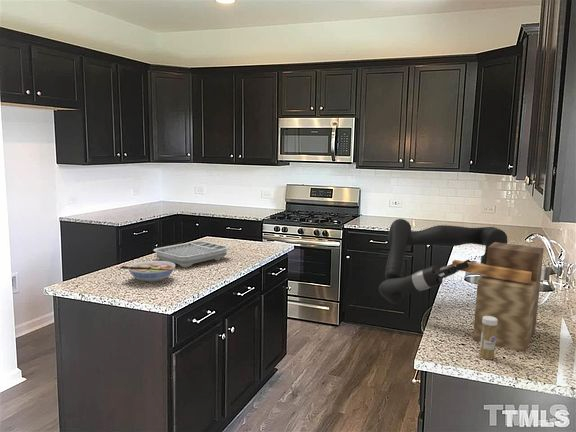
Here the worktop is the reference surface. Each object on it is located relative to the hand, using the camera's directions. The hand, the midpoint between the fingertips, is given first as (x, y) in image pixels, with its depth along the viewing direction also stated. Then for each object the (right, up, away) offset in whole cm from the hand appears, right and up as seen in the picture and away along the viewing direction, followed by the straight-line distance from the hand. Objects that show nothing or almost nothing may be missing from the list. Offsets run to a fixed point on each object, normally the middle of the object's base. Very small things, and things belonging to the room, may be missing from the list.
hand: (468, 263), depth 173 cm
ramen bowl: (-133, -15, +60) cm, 147 cm away
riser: (+14, -27, +1) cm, 30 cm away
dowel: (+6, -4, -4) cm, 8 cm away
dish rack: (-122, -9, +103) cm, 160 cm away
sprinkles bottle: (-1, -29, -18) cm, 34 cm away
